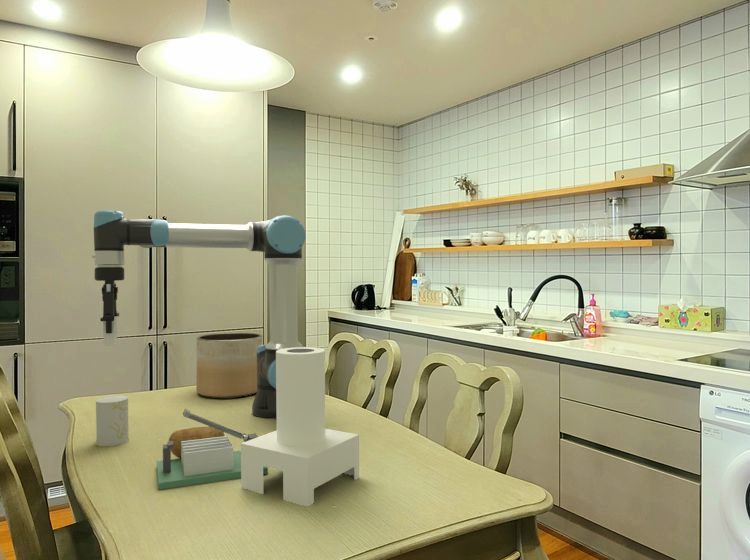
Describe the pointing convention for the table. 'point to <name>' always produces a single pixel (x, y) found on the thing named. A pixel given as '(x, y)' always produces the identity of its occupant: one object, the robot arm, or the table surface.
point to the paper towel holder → (300, 432)
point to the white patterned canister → (112, 420)
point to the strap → (214, 425)
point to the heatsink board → (199, 478)
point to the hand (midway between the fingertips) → (110, 342)
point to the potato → (192, 436)
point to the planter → (227, 364)
